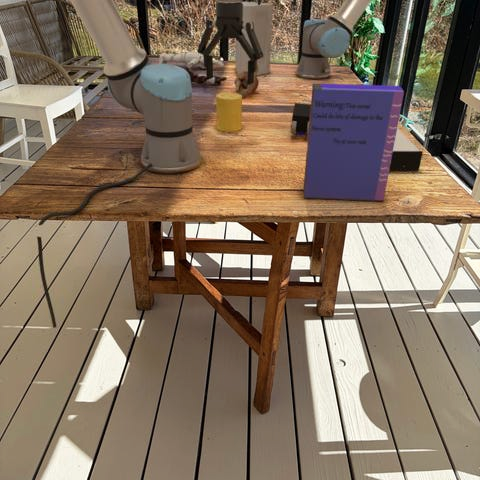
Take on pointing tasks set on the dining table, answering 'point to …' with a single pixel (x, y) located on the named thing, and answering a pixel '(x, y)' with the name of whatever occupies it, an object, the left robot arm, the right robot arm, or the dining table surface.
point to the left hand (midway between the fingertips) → (229, 81)
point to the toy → (186, 59)
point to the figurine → (203, 78)
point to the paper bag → (263, 31)
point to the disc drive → (405, 154)
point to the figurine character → (301, 119)
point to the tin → (229, 112)
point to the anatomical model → (246, 83)
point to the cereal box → (351, 141)
